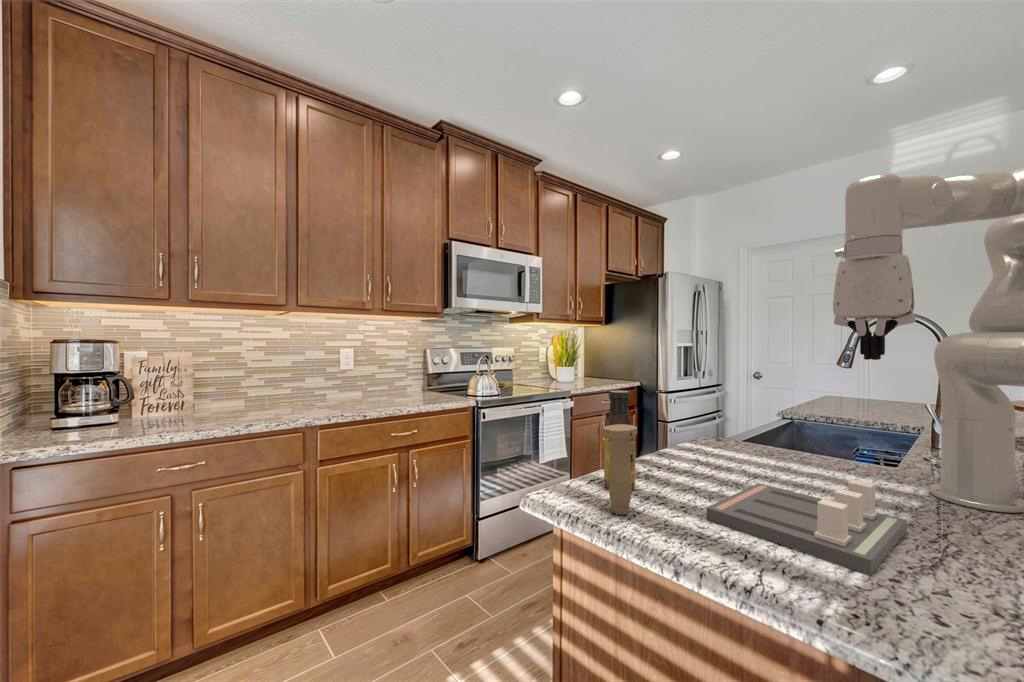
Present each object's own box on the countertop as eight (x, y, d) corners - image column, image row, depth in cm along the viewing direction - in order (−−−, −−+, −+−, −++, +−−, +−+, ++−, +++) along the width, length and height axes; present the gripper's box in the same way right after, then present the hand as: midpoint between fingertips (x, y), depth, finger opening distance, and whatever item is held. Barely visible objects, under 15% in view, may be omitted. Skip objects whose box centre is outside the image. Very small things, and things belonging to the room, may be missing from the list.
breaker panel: (758, 493, 86) (758, 482, 86) (906, 532, 68) (906, 519, 68) (706, 519, 73) (706, 507, 73) (870, 575, 56) (871, 560, 56)
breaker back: (850, 508, 73) (850, 478, 73) (878, 515, 70) (878, 484, 70) (844, 512, 71) (845, 482, 71) (872, 520, 68) (873, 488, 68)
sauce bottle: (636, 494, 85) (636, 393, 85) (604, 492, 86) (604, 392, 86) (634, 483, 92) (634, 389, 91) (603, 481, 93) (603, 389, 93)
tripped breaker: (837, 519, 68) (837, 487, 68) (866, 527, 66) (866, 494, 65) (831, 524, 67) (831, 491, 66) (860, 532, 64) (860, 498, 64)
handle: (642, 512, 77) (642, 427, 76) (618, 521, 73) (618, 432, 73) (621, 503, 80) (621, 423, 80) (597, 512, 77) (597, 427, 76)
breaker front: (821, 531, 64) (821, 497, 64) (851, 540, 61) (851, 505, 61) (814, 537, 62) (814, 502, 62) (844, 546, 59) (844, 510, 59)
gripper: (813, 255, 77) (813, 358, 77) (928, 240, 65) (928, 362, 66) (828, 260, 82) (827, 357, 82) (938, 247, 70) (937, 360, 70)
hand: (872, 359), depth 74 cm, fingers closed
